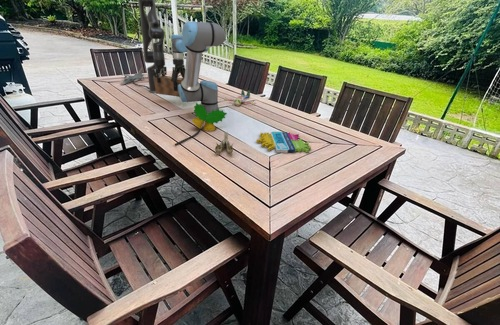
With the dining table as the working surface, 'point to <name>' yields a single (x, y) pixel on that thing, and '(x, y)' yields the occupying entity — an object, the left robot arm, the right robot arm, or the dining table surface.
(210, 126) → the ornament
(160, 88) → the box
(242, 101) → the toy
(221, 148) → the jawbone
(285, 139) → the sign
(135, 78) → the airplane
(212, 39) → the right robot arm
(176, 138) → the dining table surface
